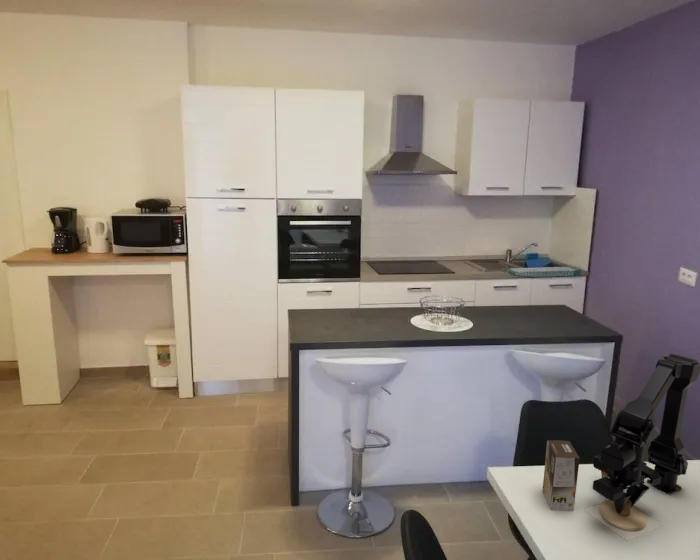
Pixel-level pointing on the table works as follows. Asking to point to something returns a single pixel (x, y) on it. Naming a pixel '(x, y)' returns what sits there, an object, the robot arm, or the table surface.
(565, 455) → the coffee box
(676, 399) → the robot arm
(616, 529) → the mat
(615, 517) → the lid
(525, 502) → the table surface
